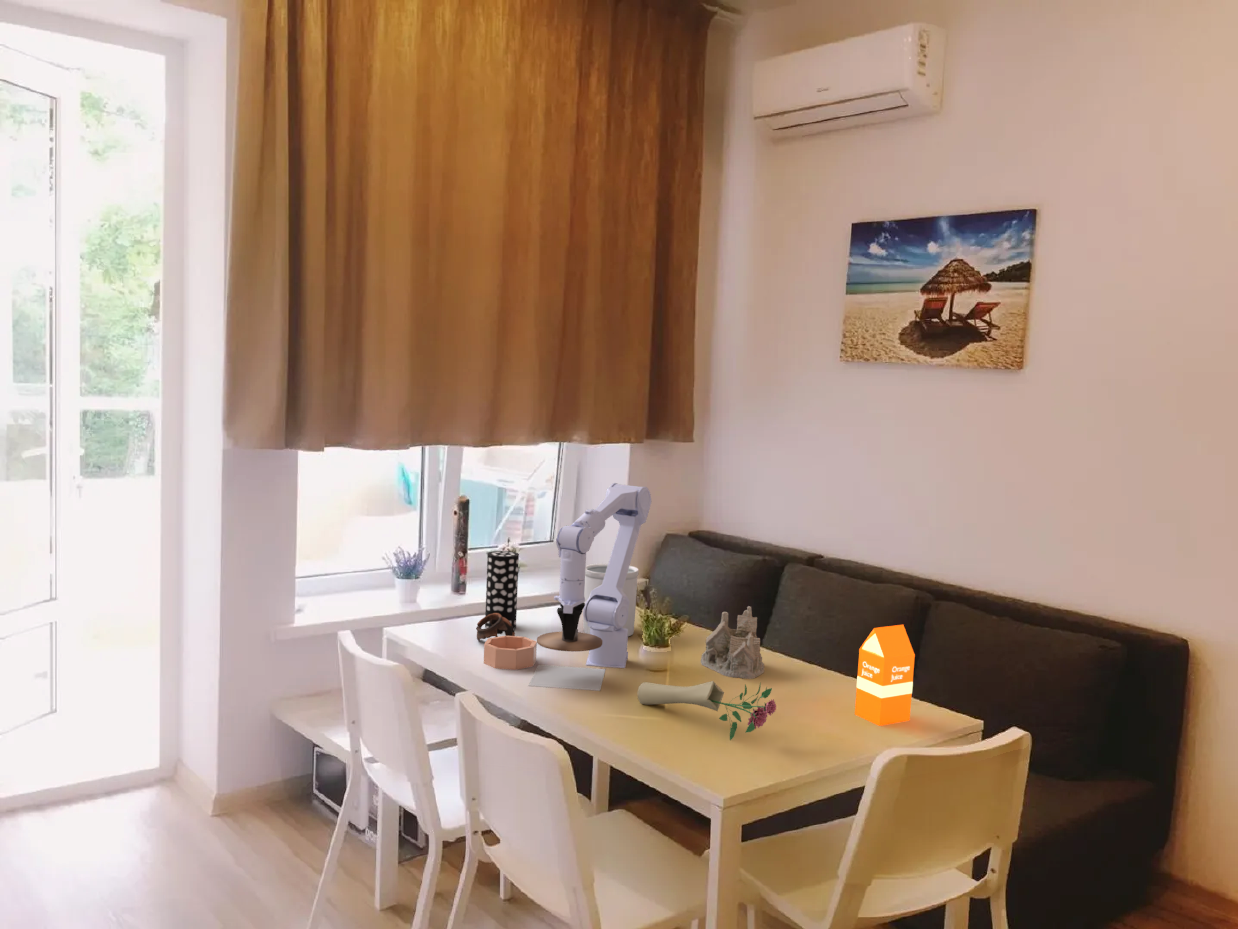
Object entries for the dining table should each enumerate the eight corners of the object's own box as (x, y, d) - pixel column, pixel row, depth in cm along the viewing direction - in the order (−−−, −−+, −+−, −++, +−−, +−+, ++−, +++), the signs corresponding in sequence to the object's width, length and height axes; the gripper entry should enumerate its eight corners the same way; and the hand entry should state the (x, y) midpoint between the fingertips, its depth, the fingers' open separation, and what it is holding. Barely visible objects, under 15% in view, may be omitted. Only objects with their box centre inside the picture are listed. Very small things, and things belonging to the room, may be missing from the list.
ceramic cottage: (706, 653, 265) (711, 597, 262) (770, 665, 260) (775, 607, 257) (689, 674, 251) (694, 614, 248) (756, 687, 245) (762, 626, 243)
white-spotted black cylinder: (504, 621, 288) (507, 549, 286) (522, 628, 281) (524, 555, 279) (479, 625, 282) (481, 552, 280) (495, 632, 276) (498, 558, 274)
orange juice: (910, 720, 223) (917, 629, 221) (879, 726, 218) (886, 632, 216) (884, 709, 229) (890, 620, 227) (853, 714, 225) (860, 623, 223)
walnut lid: (604, 636, 246) (605, 623, 246) (599, 653, 231) (600, 640, 231) (541, 632, 247) (541, 619, 246) (532, 649, 232) (533, 635, 232)
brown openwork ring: (519, 648, 264) (505, 622, 261) (485, 663, 265) (471, 637, 262) (518, 624, 275) (505, 599, 272) (485, 638, 276) (472, 613, 273)
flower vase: (659, 736, 227) (797, 746, 204) (622, 732, 218) (761, 742, 195) (664, 681, 230) (799, 685, 207) (627, 675, 222) (764, 678, 198)
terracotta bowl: (537, 657, 255) (538, 637, 255) (530, 672, 243) (531, 651, 243) (490, 654, 256) (490, 634, 255) (480, 668, 244) (481, 648, 244)
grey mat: (605, 670, 247) (605, 669, 247) (599, 692, 231) (600, 690, 231) (538, 666, 248) (538, 664, 248) (528, 687, 232) (528, 685, 232)
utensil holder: (577, 624, 288) (579, 562, 286) (629, 624, 291) (633, 562, 289) (584, 639, 274) (587, 573, 272) (640, 639, 276) (643, 574, 274)
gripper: (558, 570, 245) (556, 627, 246) (550, 584, 230) (548, 644, 232) (588, 572, 244) (586, 629, 246) (582, 586, 230) (580, 646, 231)
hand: (570, 637), depth 239 cm, fingers closed on walnut lid, 4 cm apart
